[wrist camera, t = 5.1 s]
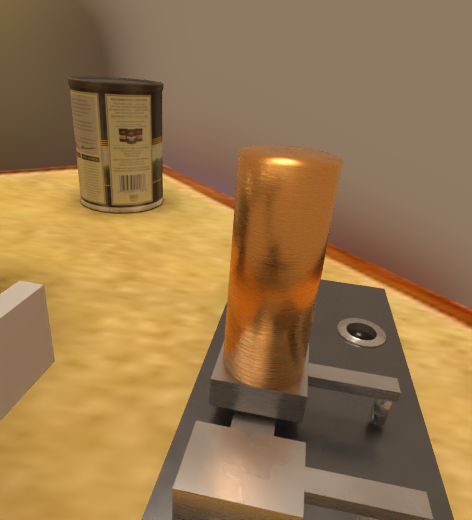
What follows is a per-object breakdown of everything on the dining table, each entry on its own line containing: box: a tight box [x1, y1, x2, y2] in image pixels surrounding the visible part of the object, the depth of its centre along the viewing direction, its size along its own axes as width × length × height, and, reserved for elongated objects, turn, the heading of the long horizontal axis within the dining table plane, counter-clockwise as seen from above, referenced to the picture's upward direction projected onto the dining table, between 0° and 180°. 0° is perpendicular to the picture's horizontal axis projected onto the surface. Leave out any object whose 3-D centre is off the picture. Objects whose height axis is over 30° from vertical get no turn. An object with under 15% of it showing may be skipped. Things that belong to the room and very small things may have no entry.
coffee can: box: [68, 77, 163, 213], centre depth 49 cm, size 10×10×14 cm
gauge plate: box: [142, 280, 454, 520], centre depth 23 cm, size 12×24×4 cm, turn 170°
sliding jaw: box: [209, 145, 401, 425], centre depth 18 cm, size 9×4×12 cm, turn 80°
